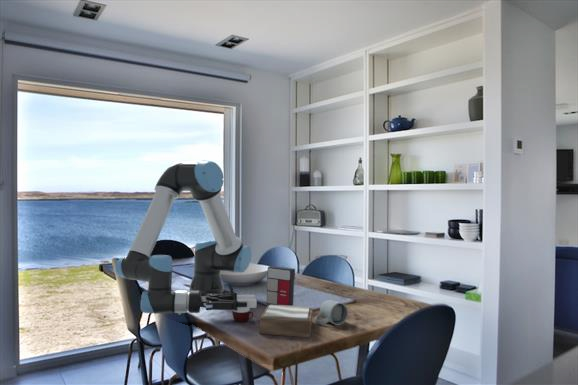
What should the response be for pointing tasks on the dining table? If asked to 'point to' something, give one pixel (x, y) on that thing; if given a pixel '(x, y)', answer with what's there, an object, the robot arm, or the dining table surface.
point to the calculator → (280, 286)
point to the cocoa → (240, 310)
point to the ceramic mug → (332, 313)
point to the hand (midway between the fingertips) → (255, 301)
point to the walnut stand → (286, 320)
